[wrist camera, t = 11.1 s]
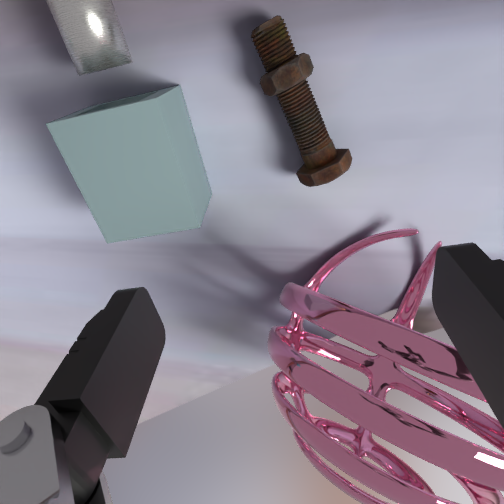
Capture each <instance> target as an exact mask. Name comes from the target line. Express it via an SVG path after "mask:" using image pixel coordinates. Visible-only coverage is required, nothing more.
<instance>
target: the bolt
mask: <svg viewBox="0 0 504 504" xmlns="http://www.w3.org/2000/svg"><path fill="white" fill-rule="evenodd" d="M283 22H284V19H281V16H275V17H274V18H272V19H270V20H268V21H267V22H265V23H263V24H262V25H260V26H258V27H257V28H256V29H255V30H253V31H252V35H251V38H253V41H252V42H255V44H254V45H255V46H257V47H256V49H257V50H258V52H257V53H259V54H260V55H259V57H262V59H261V61H263V63H262V64H263V65H265V66H264V68H266V72H268V73H266V74H264V75H263V76H262V77H261V81H260V84H261V86H262V89H263V91H264V93H265V94H266V95H268V96H274V95H277V97H279V98H278V100H280V102H279V103H281V107H283V109H282V110H285V111H284V113H285V114H286V115H285V117H287V119H286V120H289V121H288V123H290V124H289V126H291V128H290V129H293V130H292V132H293V133H294V134H293V135H294V136H295V139H296V142H298V143H297V145H299V146H298V147H299V148H300V152H301V156H302V159H303V161H304V163H305V164H304V165H303V166H302V167H301V168H300V169H299V171H298V172H297V173H296V174H297V176H298V178H299V181H300V182H301V183H302V184H304V185H306V186H309V187H312V186H318V185H322V184H326V183H329V182H331V181H333V180H334V179H336V178H338V177H339V176H341V175H342V174H344V173H345V172H346V171H347V170H348V169H349V168H350V165H351V162H352V157H351V154H350V151H349V149H335V147H334V144H333V142H332V140H331V139H330V137H329V134H328V131H327V130H326V127H325V124H324V121H322V120H323V118H321V114H320V111H318V110H319V108H317V106H318V105H316V101H314V100H315V98H313V96H314V95H312V91H310V89H311V88H308V87H309V84H307V83H308V81H306V78H307V77H309V76H310V75H311V74H312V71H313V68H314V67H313V64H312V62H311V59H310V56H309V55H308V54H305V53H301V54H299V55H295V54H296V51H294V49H295V47H293V43H291V41H292V40H290V36H289V35H288V33H289V32H288V31H286V30H287V27H285V25H286V23H283Z"/></svg>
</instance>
